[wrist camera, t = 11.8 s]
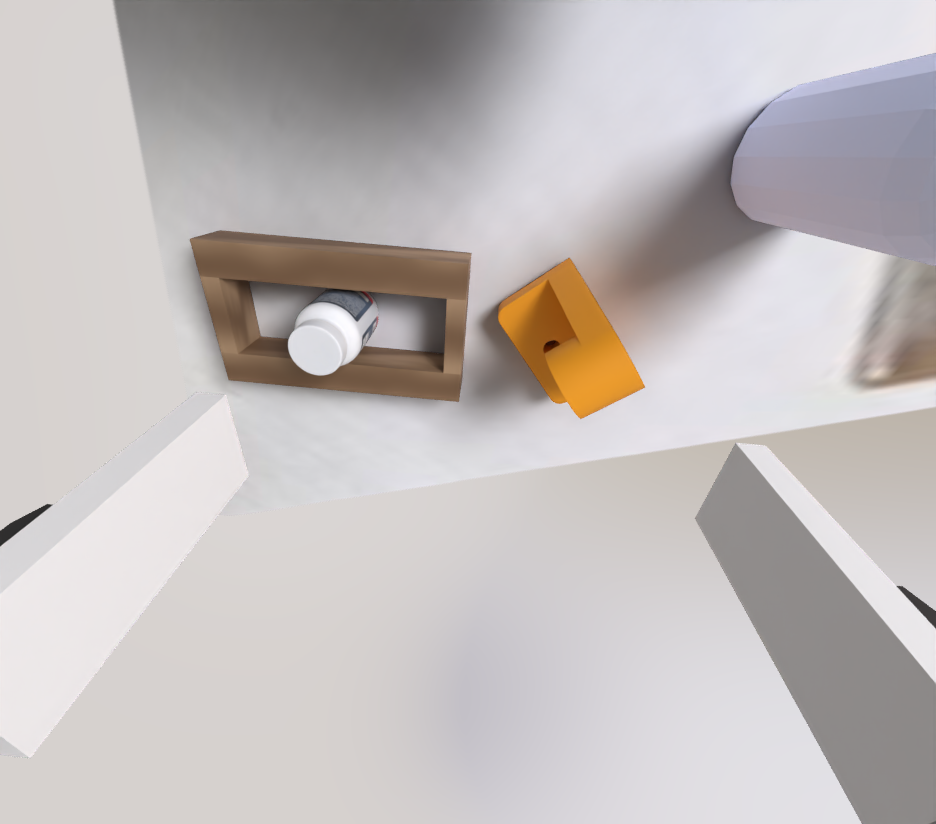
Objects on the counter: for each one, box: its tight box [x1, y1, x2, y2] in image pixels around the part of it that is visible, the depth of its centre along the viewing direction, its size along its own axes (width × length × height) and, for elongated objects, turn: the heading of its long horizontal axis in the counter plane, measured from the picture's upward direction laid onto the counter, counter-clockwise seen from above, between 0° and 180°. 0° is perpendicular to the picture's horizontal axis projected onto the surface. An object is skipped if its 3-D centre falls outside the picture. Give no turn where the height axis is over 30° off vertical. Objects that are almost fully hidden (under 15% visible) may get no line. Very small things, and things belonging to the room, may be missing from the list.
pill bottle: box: [288, 288, 379, 375], centre depth 33 cm, size 5×5×9 cm
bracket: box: [498, 258, 645, 419], centre depth 32 cm, size 11×7×12 cm, turn 35°
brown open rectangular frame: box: [190, 230, 471, 402], centre depth 35 cm, size 12×21×4 cm, turn 86°
